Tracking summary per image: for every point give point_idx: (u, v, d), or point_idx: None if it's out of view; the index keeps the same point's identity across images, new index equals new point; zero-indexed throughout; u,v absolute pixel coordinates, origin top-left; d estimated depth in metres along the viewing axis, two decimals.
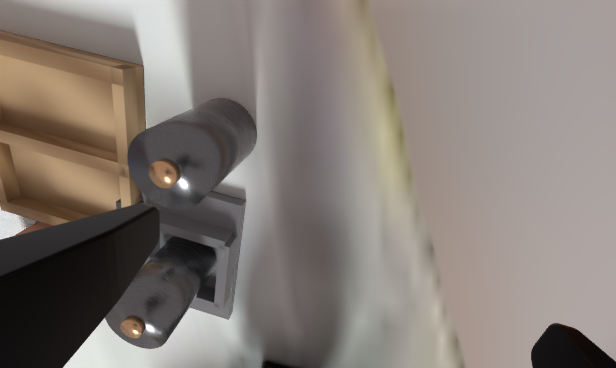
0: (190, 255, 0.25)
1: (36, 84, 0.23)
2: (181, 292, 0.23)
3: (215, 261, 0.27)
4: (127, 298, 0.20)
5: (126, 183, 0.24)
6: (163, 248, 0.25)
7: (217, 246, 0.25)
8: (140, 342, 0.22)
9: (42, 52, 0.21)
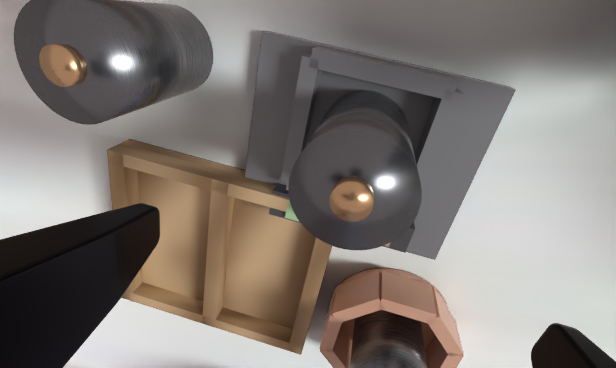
0: (324, 116, 0.15)
1: (164, 253, 0.24)
2: (337, 117, 0.12)
3: (367, 91, 0.16)
4: (291, 190, 0.12)
5: (236, 189, 0.19)
6: None
7: (312, 71, 0.15)
8: (404, 202, 0.11)
9: None
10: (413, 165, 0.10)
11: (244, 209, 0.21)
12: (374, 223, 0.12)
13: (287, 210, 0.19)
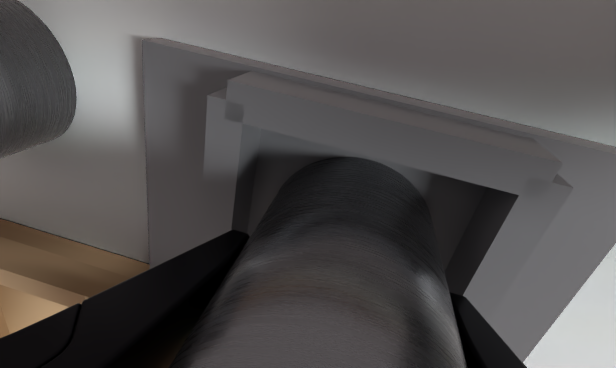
0: (259, 223, 0.07)
1: None
2: (254, 295, 0.04)
3: (353, 160, 0.08)
4: None
5: None
6: None
7: (232, 128, 0.07)
8: None
9: None
10: None
11: None
12: None
13: None
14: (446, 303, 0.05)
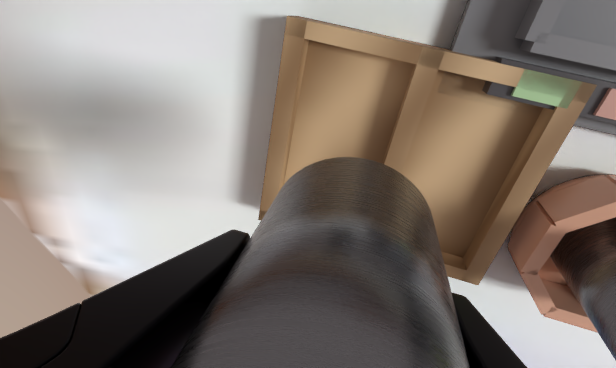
0: (259, 224, 0.07)
1: None
2: (256, 297, 0.04)
3: (354, 161, 0.08)
4: None
5: (453, 59, 0.15)
6: None
7: None
8: None
9: (274, 125, 0.19)
10: None
11: (439, 98, 0.17)
12: None
13: (519, 85, 0.15)
14: (449, 305, 0.05)
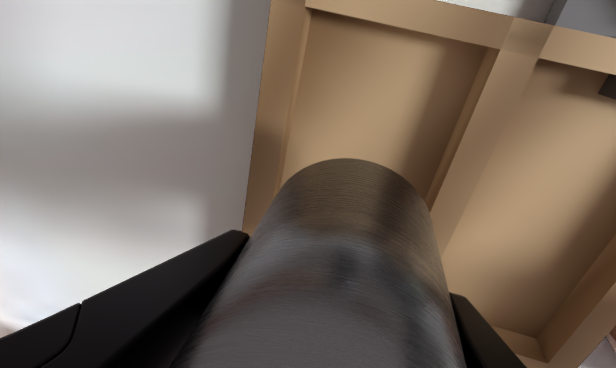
0: (258, 225, 0.07)
1: None
2: (253, 299, 0.04)
3: (353, 162, 0.08)
4: None
5: (568, 39, 0.09)
6: None
7: None
8: None
9: (256, 149, 0.12)
10: None
11: (523, 106, 0.11)
12: None
13: None
14: (446, 307, 0.05)
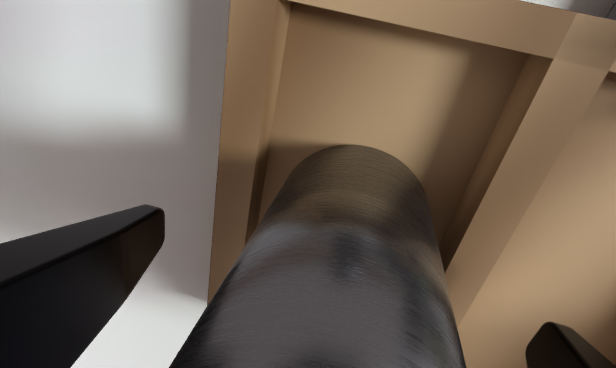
0: (272, 202, 0.08)
1: None
2: (276, 250, 0.05)
3: (356, 148, 0.09)
4: None
5: None
6: None
7: None
8: None
9: (221, 185, 0.09)
10: None
11: (574, 133, 0.08)
12: None
13: None
14: (437, 265, 0.06)
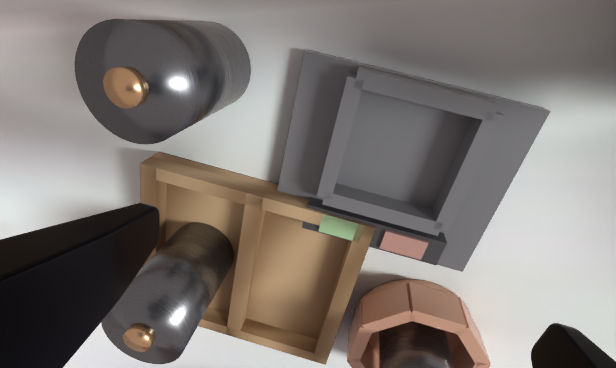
0: None
1: None
2: (145, 269, 0.18)
3: (198, 224, 0.22)
4: (104, 328, 0.17)
5: (270, 203, 0.19)
6: None
7: (356, 91, 0.16)
8: (174, 339, 0.17)
9: None
10: (172, 319, 0.16)
11: (274, 222, 0.21)
12: (161, 349, 0.17)
13: (321, 224, 0.19)
14: (203, 272, 0.19)
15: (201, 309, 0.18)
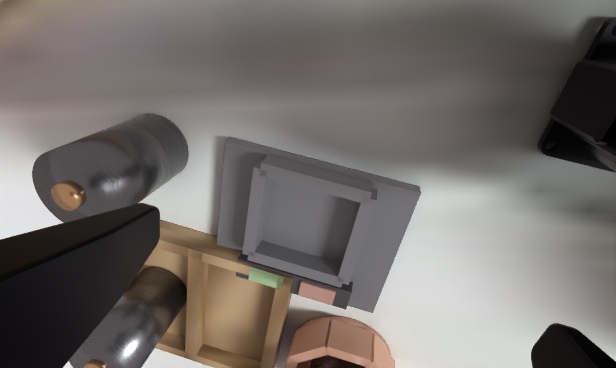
0: None
1: None
2: None
3: (155, 268, 0.26)
4: (70, 361, 0.22)
5: (208, 257, 0.23)
6: None
7: (262, 178, 0.19)
8: None
9: None
10: (119, 358, 0.20)
11: (217, 268, 0.25)
12: None
13: (250, 274, 0.23)
14: (152, 314, 0.23)
15: (149, 346, 0.23)
